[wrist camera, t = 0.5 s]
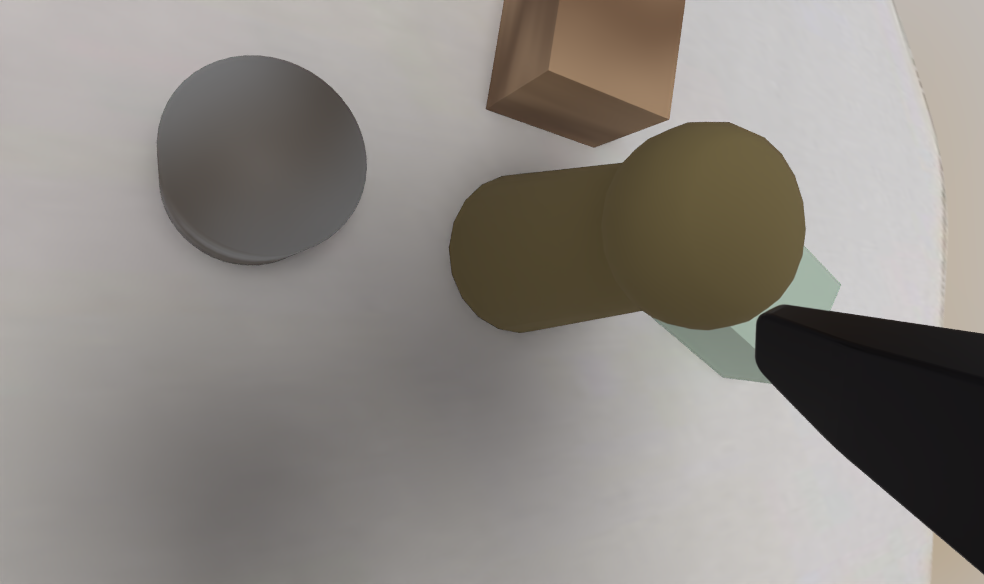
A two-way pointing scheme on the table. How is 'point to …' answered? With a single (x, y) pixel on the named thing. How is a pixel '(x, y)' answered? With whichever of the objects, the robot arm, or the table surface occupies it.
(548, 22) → the walnut block
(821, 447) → the table surface
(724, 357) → the sage block
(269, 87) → the grey short cylinder
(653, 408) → the table surface
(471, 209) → the olive pawn
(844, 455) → the robot arm
